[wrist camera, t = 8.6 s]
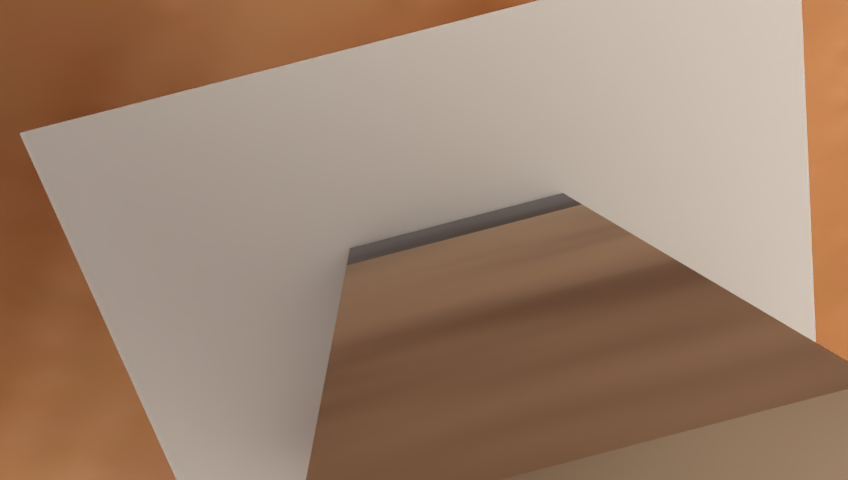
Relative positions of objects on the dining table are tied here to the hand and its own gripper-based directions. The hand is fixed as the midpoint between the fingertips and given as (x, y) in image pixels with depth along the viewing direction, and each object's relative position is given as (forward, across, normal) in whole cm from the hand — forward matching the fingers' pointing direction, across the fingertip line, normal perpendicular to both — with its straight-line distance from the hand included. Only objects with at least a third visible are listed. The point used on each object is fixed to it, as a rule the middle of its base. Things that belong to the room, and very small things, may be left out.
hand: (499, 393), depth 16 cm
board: (+3, 0, -5) cm, 6 cm away
